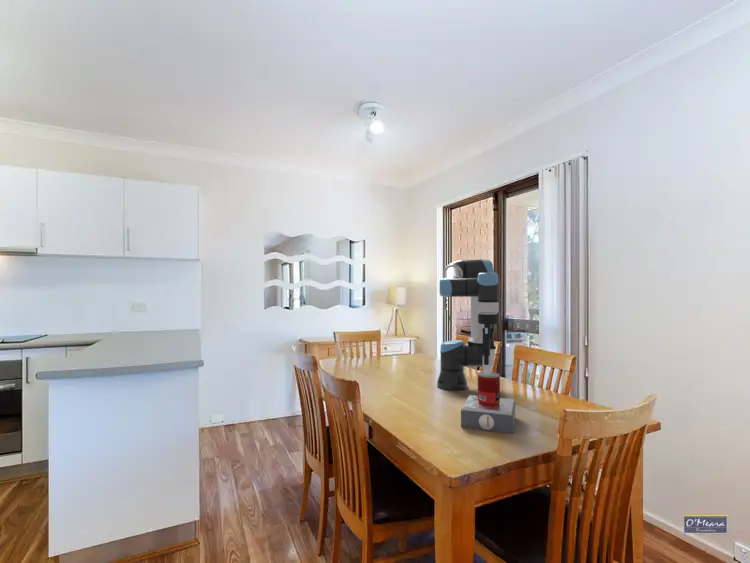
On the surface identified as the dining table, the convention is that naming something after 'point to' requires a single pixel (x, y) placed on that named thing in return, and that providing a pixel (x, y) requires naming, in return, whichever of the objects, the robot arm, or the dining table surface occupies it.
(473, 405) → the scale pan
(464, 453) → the dining table surface
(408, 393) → the dining table surface
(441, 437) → the dining table surface
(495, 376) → the canned food
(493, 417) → the scale base
